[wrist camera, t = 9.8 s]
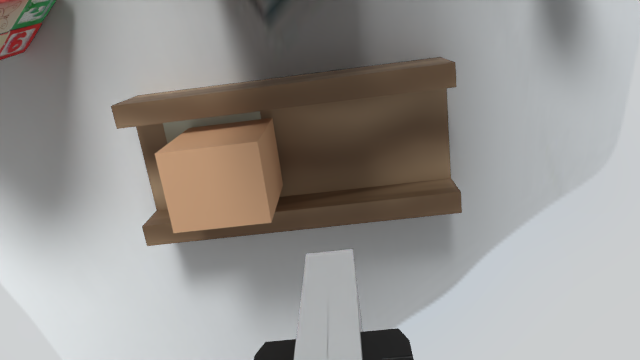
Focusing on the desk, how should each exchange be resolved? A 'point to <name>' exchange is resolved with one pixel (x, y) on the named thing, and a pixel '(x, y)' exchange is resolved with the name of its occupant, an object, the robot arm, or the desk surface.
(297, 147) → the chute
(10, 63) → the desk surface
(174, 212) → the block
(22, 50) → the stack of blocks
